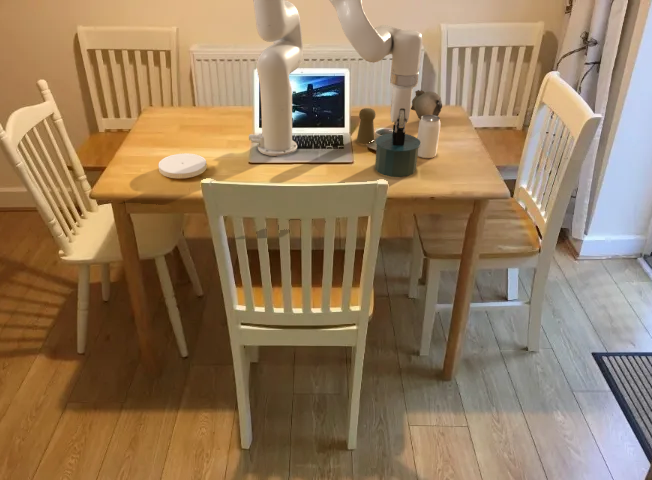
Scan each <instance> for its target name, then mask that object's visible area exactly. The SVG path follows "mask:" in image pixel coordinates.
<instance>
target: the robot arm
mask: <svg viewBox="0 0 652 480" xmlns="http://www.w3.org/2000/svg"><path fill="white" fill-rule="evenodd" d="M252 1H253V9H254V18H255V26H256V31H257V34H258V36H259V37H260V39H262V40H263V41H264V42H268V43H272V45H270V46H268V47H266V48H265V49H264V50H263V51H262V52H261V53H260V54H259V56H258V59H257V62H256V70H257V71H256V72H257V76H258V81H259V91H260V108H261V109H260V111H261V114H260V115H261V133H259V134H251V133H249V134H248V141H251V142H250V143H251V144H257V150H258V152H259V153H261V154H263V155H265V156H270V157H277V156H285V155H286V156H287V155H290V154H292V153H294V152H296V151H297V149H298V143H297V142H296V141H294V140H293V91H292V84H291V80H290V75H291V74H292V73H293V72H294V71H296V70H297V69H298V68H299V67H300V66H301V64H302V63H303V59H304V45H303V33H302V22H301V21H302V20H301V16H300V12H299V11H298V8H297V7H296V6H295V4H294V3H292V2H291V1H289V0H252ZM329 2H330V3H331V5H332V6H333V7H334V9H335V11H336V15H337V18H338V22H339V24H340V27H341V29H342V31H343V33H344V35H345V37H346V39H347V40H348V42H349V43H350V44H351V46H352V47H353V49H354V50H355V51H356V53H357V54H358V56H360V57H361V58H362V59H363V60H364V61H366V62H368V63H378V62H380V61H382V60H383V59H384V58H386V57H387V56H389V55H391V66H390V67H391V68H390V80H389V84H390V85H391V86H392V94H391V100H390V101H391V103H390V110H389V111H390V112H389V113H390V114H389V115H390V122H391V123H393V127H392V133H393V135H392V138H393V145H401V146H403V145H404V140H405V134H406V125H407V123H409V121H410V114H411V107H412V100H413V90H414V89H413V88H415V87H418V85H419V84H418V82H419V74H420V72H419V71H420V64H421V57H422V46H423V35H422V33H421V32H420V31H418V30H416V29H401V28H397V27H393V26H390V25H384V24H382V25H378V26H376V27H375V28H374V26H373V25H372V23H371V22H370V20H369V18H368V17H367V15H366V13H365V10H364V7H363V0H329ZM398 124H399V125H398ZM397 125H398V126H397Z"/></svg>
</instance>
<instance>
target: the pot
mask: <svg viewBox="0 0 652 480" xmlns="http://www.w3.org/2000/svg"><path fill="white" fill-rule="evenodd" d="M375 149H376V150H375V163H374V170H375V171H376V172H377V173H379V174H381V175H383V176H385V177H390V178H404V177H410V176H411V175H414V173H416V170H417V163H418V156H417V155H418V149H416V150H414V151H410V152H391V151H387V150H384V149H382V148H380V147H378V146H377V145H376V148H375Z"/></svg>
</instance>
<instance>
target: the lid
mask: <svg viewBox="0 0 652 480" xmlns="http://www.w3.org/2000/svg"><path fill="white" fill-rule="evenodd" d="M398 125H399V124H398ZM398 125H397V126H398ZM392 135H393V132H390V133H384V134H381V135H379V136H378V137H376V139H375V144H376V147H377V146H378V147H380V148H382V149H384V150H387V151H391V152H410V151H414V150H416V149H418V148H419V147H420V145H421V142H420V140H419V139H417V136H414V135H411V134H407V133H405V140H404V145H403V146H401V145H393V138H392Z"/></svg>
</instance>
